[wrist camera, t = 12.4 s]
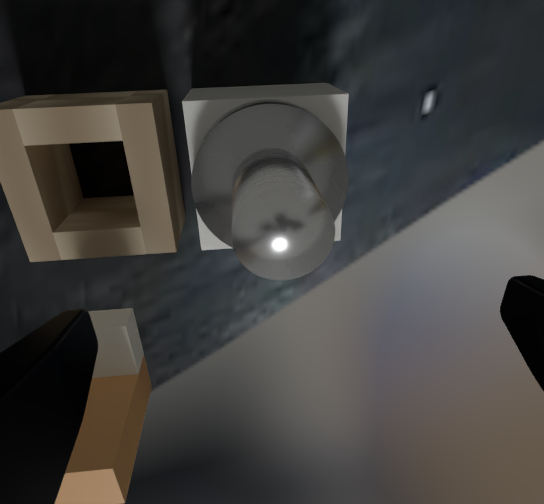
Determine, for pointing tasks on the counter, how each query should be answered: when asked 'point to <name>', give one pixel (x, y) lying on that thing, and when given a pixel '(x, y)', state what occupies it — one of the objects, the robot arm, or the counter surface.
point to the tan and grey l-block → (109, 415)
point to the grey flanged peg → (271, 186)
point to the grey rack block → (217, 101)
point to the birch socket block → (65, 184)
